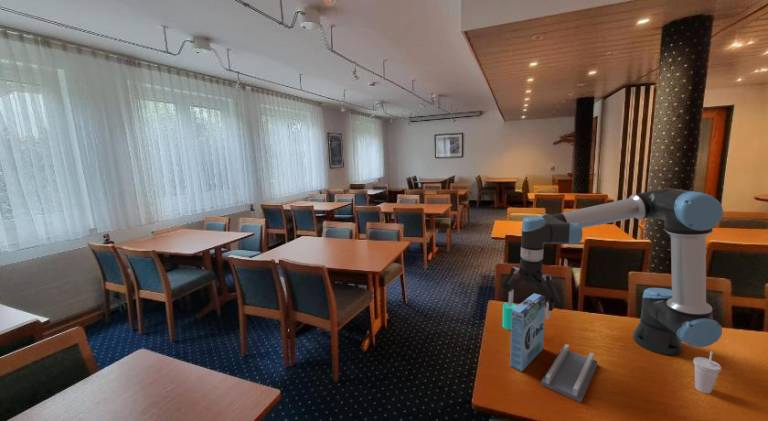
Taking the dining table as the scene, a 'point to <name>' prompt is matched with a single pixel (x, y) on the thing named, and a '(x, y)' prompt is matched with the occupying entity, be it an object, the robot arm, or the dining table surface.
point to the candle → (507, 315)
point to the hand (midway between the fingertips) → (528, 311)
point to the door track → (570, 374)
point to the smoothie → (705, 373)
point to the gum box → (527, 331)
